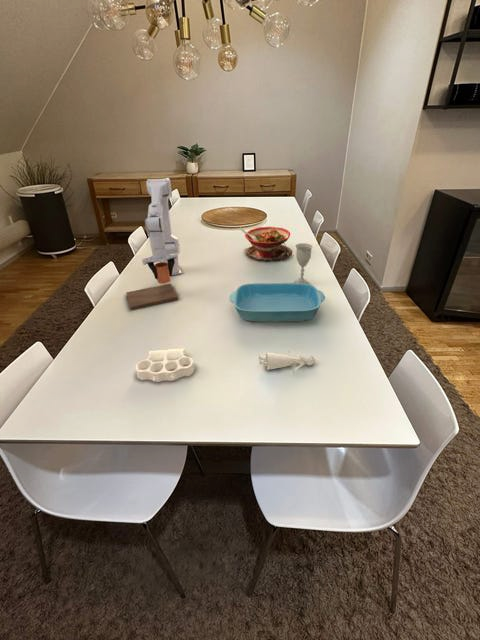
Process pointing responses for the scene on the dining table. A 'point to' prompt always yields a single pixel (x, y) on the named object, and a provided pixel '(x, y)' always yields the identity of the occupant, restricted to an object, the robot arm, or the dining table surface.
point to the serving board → (151, 296)
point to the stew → (268, 243)
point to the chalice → (303, 258)
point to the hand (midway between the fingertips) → (163, 276)
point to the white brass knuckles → (165, 365)
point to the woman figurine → (284, 360)
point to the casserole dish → (277, 301)
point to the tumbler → (162, 272)
